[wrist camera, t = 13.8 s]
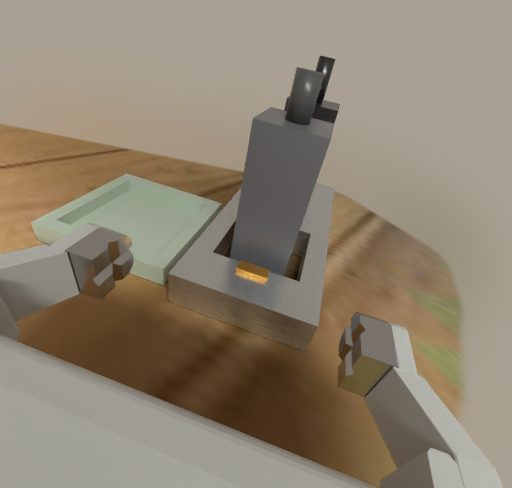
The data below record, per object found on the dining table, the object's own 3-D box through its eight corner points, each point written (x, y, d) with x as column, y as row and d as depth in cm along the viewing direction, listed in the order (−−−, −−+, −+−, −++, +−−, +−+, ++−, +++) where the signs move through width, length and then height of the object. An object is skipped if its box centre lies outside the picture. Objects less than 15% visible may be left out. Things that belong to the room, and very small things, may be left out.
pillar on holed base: (305, 351, 16) (444, 88, 8) (168, 301, 17) (164, 22, 9) (327, 207, 32) (381, 69, 24) (255, 185, 33) (283, 46, 25)
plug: (278, 292, 20) (350, 83, 12) (226, 274, 20) (262, 61, 12) (287, 260, 23) (349, 78, 15) (243, 245, 23) (280, 61, 15)
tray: (163, 285, 18) (163, 269, 17) (37, 239, 19) (30, 222, 18) (220, 216, 26) (221, 203, 25) (128, 187, 27) (126, 173, 26)
